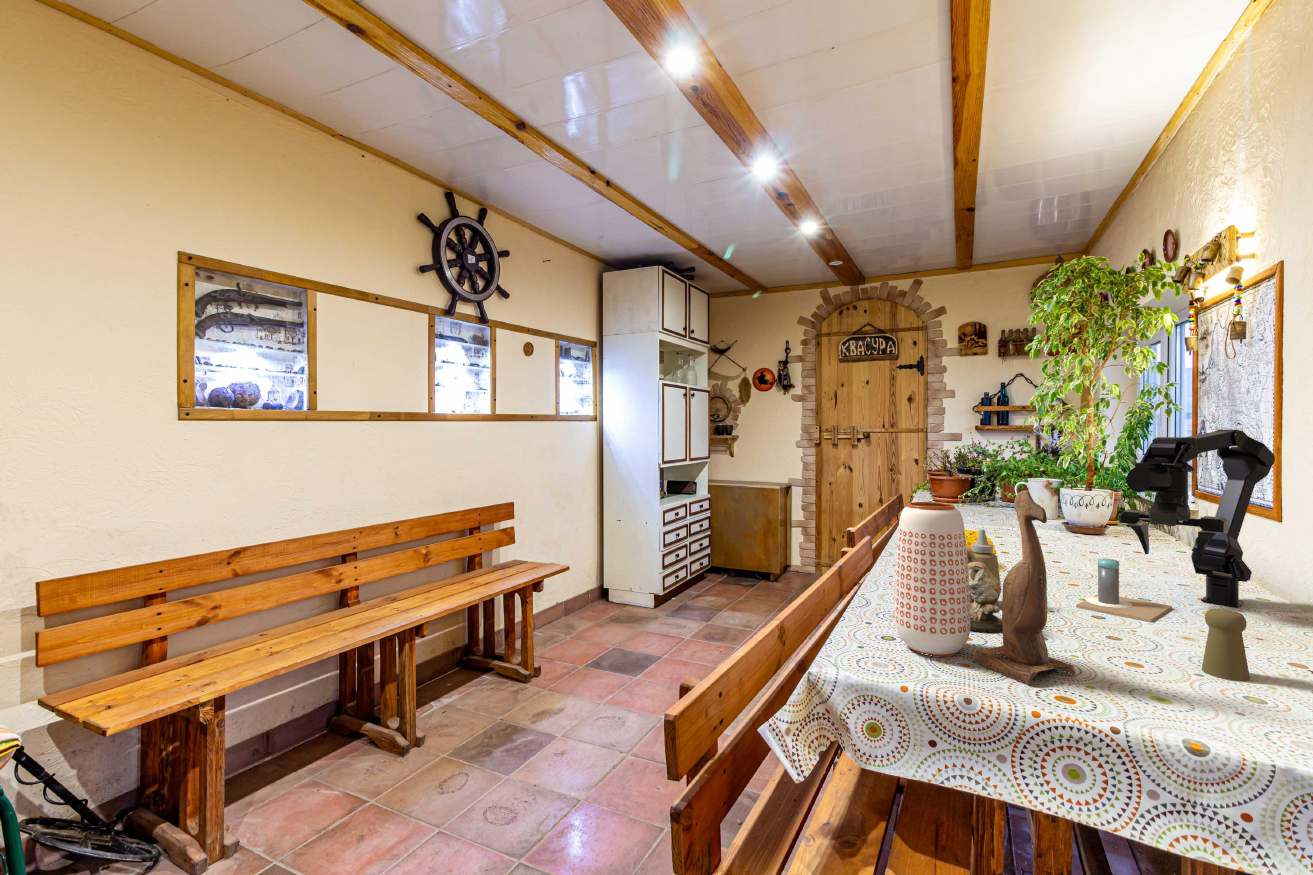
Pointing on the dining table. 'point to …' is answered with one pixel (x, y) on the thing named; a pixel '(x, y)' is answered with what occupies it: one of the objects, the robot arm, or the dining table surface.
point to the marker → (1108, 581)
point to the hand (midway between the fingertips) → (1171, 557)
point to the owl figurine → (982, 597)
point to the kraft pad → (1127, 608)
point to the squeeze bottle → (986, 555)
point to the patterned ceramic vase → (932, 579)
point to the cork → (1225, 645)
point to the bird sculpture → (1024, 606)
